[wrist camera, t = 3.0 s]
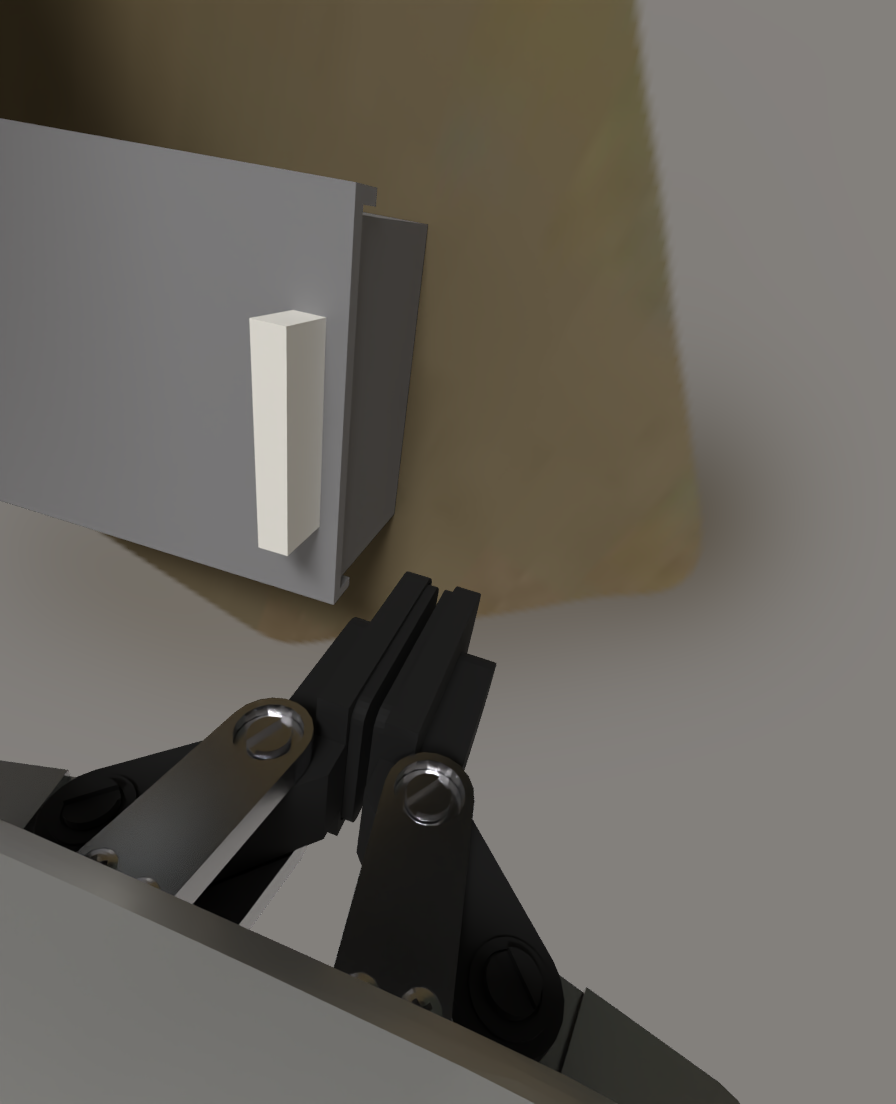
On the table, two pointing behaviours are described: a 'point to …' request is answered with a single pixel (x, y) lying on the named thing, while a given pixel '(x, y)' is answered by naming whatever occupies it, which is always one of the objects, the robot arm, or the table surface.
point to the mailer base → (380, 373)
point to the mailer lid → (179, 350)
